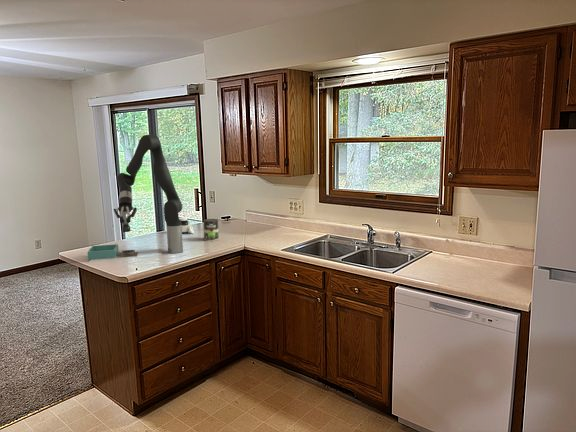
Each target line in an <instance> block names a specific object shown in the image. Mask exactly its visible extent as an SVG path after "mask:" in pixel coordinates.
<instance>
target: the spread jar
mask: <svg viewBox="0 0 576 432" xmlns="http://www.w3.org/2000/svg"><path fill="white" fill-rule="evenodd" d="M179 219H180V220H181V225H182V235H186V234H189V233H190V234H194V233H195V231H194V230H195V229H194V227H193V225H192V224H189V221H188V217H183V216H181V217H179Z"/></svg>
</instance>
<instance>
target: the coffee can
mask: <svg viewBox="0 0 576 432" xmlns="http://www.w3.org/2000/svg"><path fill="white" fill-rule="evenodd" d="M203 235H204V236H203V237H204V238H203V239H204V241H207V242H215V241H218V240H220V238H219V237H220V236H219V219H218V218H207V219H203Z"/></svg>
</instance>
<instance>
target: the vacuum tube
mask: <svg viewBox="0 0 576 432" xmlns="http://www.w3.org/2000/svg"><path fill="white" fill-rule="evenodd" d="M122 219H123V224H122V227H121V229H122V231H121V232H122V233H129V232H131V231H132V230H131V226H130V222H129V223H128V212H127V211H124V212H122Z"/></svg>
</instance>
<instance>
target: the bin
mask: <svg viewBox="0 0 576 432" xmlns="http://www.w3.org/2000/svg"><path fill="white" fill-rule="evenodd" d="M119 253H120V252H119V244H114V243H113V244H102V245H101V244H99V245H92V246H91V247H90V248H89V250H88V251H87V260H88V261H90V262H91V261H93V260H105V259H116V258H117V257H118V255H119Z"/></svg>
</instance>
